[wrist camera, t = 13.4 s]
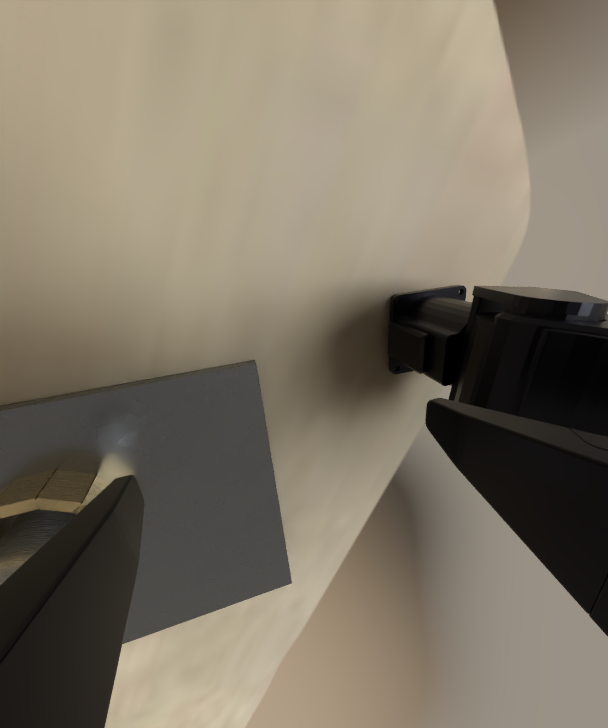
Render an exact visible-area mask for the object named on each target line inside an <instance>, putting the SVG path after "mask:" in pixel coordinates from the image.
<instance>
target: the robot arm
mask: <svg viewBox="0 0 608 728" xmlns="http://www.w3.org/2000/svg"><path fill="white" fill-rule="evenodd" d="M459 290H460V293H459V294H458V292H459ZM472 295H474V298H473V302H467V301H465V298H466V288H465V287H464V286H460V285H456V286H450V287H443V288H436V289H429V290H423V291H416V292H409V293H402V294H396V295H394V296H393V297H392V299H391V305H390V324H389V336H388V354H389V370H390V372H392V373H393V374H400V373H405V372H410V371H416V372H418V373H419V374H425V375H426V376H428V377H430V378H431V379H433V380H435V381H436V382H438V383H440V384H441V385H443V386H447V385H451V386H452V388H451V392H450V396H449V400H447V399H443V398H437V399H433V400H430V401H428V403H427V409H426V426H427V428H428V430H429V431H430V432H431V434H432V435H433V437H434V438H435V439H436V441H437V442H438V443H439V445H440V446H441V447H442V449H443V450H444V451H445V453H446V454H447V456H448V457H449V458H450V459H451V461H452V462H453V463H454V465H455V466H456V467H457V468H458V470H459V471H460V472H461V473H462V474H463V475H464V476H465V477H466V479H467V480H468V481H469V482H470V483H471V484H472V485H473V486H474V487H475V489H476V490H477V491H478V492H479V493H480V494H481V495H482V496H483V497H484V499H485V500H486V501H487V502H488V503H489V504H490V505H491V506H492V508H494V510H495V511H496V512H497V513H498V514H499V515H500V516H501V518H502V519H503V520H504V521H505V522H506V523H507V524H508V525H509V526H510V528H511V529H512V530H513V531H514V532H515V533H516V534H517V535H518V537H519V538H520V539H521V540H522V541H523V542H524V543H525V544H526V545H527V547H529V549H530V550H531V551H532V552H533V553H534V554H535V556H536V557H537V558H538V559H539V560H540V561H541V562H542V563H543V564H544V565H545V567H546V568H547V569H548V570H549V571H550V572H551V573H552V574H553V575H554V577H555V578H556V579H557V580H558V581H559V582H560V583H561V585H563V587H564V588H565V589H566V590H567V591H568V592H569V593H570V595H571V596H572V597H573V598H574V599H575V600H576V601H577V602H578V604H579V605H580V606H581V607H582V608H583V609H584V610H585V611H586V612H587V613H588V614H589V616H590V617H591V618H592V619H593V621H594V622H595V623H596V624H597V625H598V626H599V627H600V628H601V629H602V631H603V632H604V633H605V634H606V635H607V636H608V314H607V311H608V301H606V300H602V299H599V298H596V297H593V296H589V295H586V294H583V293H579V292H575V291H567V290H556V289H546V288H536V287H504V286H474V290H473V294H472ZM398 299H399V303H398V304H397V303H396V302H397V300H398ZM396 366H397V368H396V369H395V370H394V368H395V367H396ZM143 516H144V498H143V495H142V492H141V490H140V487H139V485H138V482H137V480H136V478H135V476H134V475H127V476H123V477H119V478H116V479H114V480H113V481H112V482H111V483H110V484H109V485H108V486H107V487H106V488H105V489H103V490H102V491H101V492H100V493H99V494H98V495H97V496H96V497H95V498H94V499H93V500H92V501H91V502H89V503H88V504H87V505H86V506H85V507H84V508H83V509H82V510H81V511H80V512H79V513H78V514H76V515H75V516H74V517H73V518H72V519H71V520H70V521H69V522H68V523H67V524H66V525H65V526H64V527H62V528H61V529H60V530H59V531H58V532H57V533H56V534H55V535H54V536H53V537H52V538H51V539H49V540H48V541H47V542H46V543H45V544H44V545H43V546H42V547H41V548H40V549H39V550H38V551H37V552H35V553H34V554H33V555H32V556H31V557H30V558H29V559H28V560H27V561H26V562H25V563H24V564H22V565H21V566H20V567H19V568H18V569H17V570H16V571H15V572H14V573H13V574H12V575H11V576H10V577H8V578H7V579H6V580H5V581H4V582H3V583H2V584H1V585H0V728H105V723H106V718H107V714H108V709H109V704H110V699H111V695H112V690H113V685H114V680H115V676H116V671H117V666H118V661H119V656H120V652H121V647H122V642H123V637H124V633H125V628H126V623H127V618H128V614H129V609H130V604H131V599H132V595H133V590H134V585H135V580H136V576H137V570H138V565H139V557H140V547H141V537H142V526H143Z"/></svg>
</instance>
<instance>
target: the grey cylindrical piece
mask: <svg viewBox="0 0 608 728" xmlns="http://www.w3.org/2000/svg"><path fill="white" fill-rule="evenodd" d="M75 515H76V513H73V512H62V511H51V510H40V509H36V510H32V511H28V512H24V513H20V514H19V515H18V517H17V518H16V519H15V521H14V522H13V523H12V525H11V526H10V528H9V529H8V530H7V532H6V533H5V534H4V536H3V537H2V539H1V540H0V585H1V584H2V583H3V582H4V581H5V580H6V579H7V578H8V577H10V576H11V575H12V574H13V573H14V572H15V571H16V570H17V569H18V568H19V567H20V566H21V565H22V564H24V563H25V562H26V561H27V560H28V559H29V558H30V557H31V556H32V555H33V554H34V553H35V552H37V551H38V550H39V549H40V548H41V547H42V546H43V545H44V544H45V543H46V542H47V541H48V540H49V539H51V538H52V537H53V536H54V535H55V534H56V533H57V532H58V531H59V530H60V529H61V528H62V527H64V526H65V525H66V524H67V523H68V522H69V521H70V520H71V519H72V518H73V517H74V516H75Z"/></svg>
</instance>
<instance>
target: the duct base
mask: <svg viewBox="0 0 608 728" xmlns="http://www.w3.org/2000/svg"><path fill="white" fill-rule="evenodd" d="M127 475H134V476H135V478H136V480H137V482H138V485H139V487H140V490H141V492H142V495H143V498H144V516H143V526H142V537H141V547H140V557H139V565H138V570H137V576H136V580H135V585H134V590H133V595H132V599H131V604H130V609H129V614H128V618H127V623H126V628H125V633H124V637H123V642H122V644H124V643H127V642H130V641H133V640H135V639H138V638H141V637H144V636H146V635H149V634H152V633H155V632H158V631H160V630H163V629H166V628H169V627H171V626H174V625H177V624H180V623H183V622H185V621H188V620H191V619H194V618H197V617H199V616H202V615H205V614H208V613H210V612H213V611H216V610H219V609H222V608H224V607H227V606H230V605H233V604H235V603H238V602H241V601H244V600H247V599H249V598H252V597H255V596H258V595H260V594H263V593H266V592H269V591H272V590H274V589H277V588H280V587H283V586H285V585H288V584H291V583H292V581H291V575H290V569H289V563H288V557H287V550H286V544H285V538H284V532H283V526H282V520H281V513H280V507H279V501H278V495H277V489H276V483H275V477H274V470H273V464H272V458H271V452H270V446H269V440H268V433H267V427H266V421H265V415H264V409H263V403H262V396H261V390H260V384H259V378H258V372H257V366H256V362H255V360H253V361H247V362H242V363H236V364H231V365H225V366H220V367H214V368H209V369H203V370H198V371H192V372H187V373H181V374H176V375H170V376H165V377H159V378H154V379H148V380H143V381H137V382H132V383H126V384H121V385H115V386H110V387H104V388H99V389H93V390H88V391H82V392H77V393H71V394H66V395H60V396H55V397H49V398H44V399H38V400H33V401H27V402H22V403H16V404H11V405H5V406H0V540H1V539H2V537H3V536H4V534H5V533H6V532H7V530H8V529H9V528H10V526H11V525H12V523H13V522H14V521H15V519H16V518H17V517H18V515H19V514H20V513H24V512H28V511H32V510H36V509H40V510H51V511H62V512H73V513H76V514H78V513H79V512H80V511H81V510H82V509H83V508H84V507H85V506H86V505H87V504H88V503H89V502H91V501H92V500H93V499H94V498H95V497H96V496H97V495H98V494H99V493H100V492H101V491H102V490H103V489H105V488H106V487H107V486H108V485H109V484H110V483H111V482H112V481H113V480H114V479H116V478H119V477H123V476H127Z"/></svg>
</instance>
